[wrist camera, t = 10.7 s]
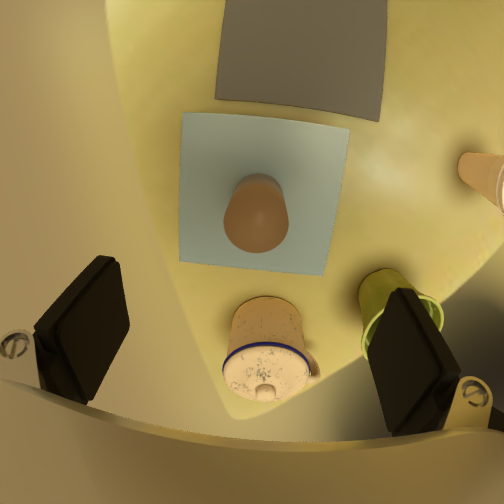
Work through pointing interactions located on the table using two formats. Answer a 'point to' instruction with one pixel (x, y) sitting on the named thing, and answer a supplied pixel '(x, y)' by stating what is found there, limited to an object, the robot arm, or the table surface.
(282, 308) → the teacup with lid
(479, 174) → the smoothie
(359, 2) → the mat
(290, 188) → the cover sheet
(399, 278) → the plant pot
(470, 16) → the table surface
